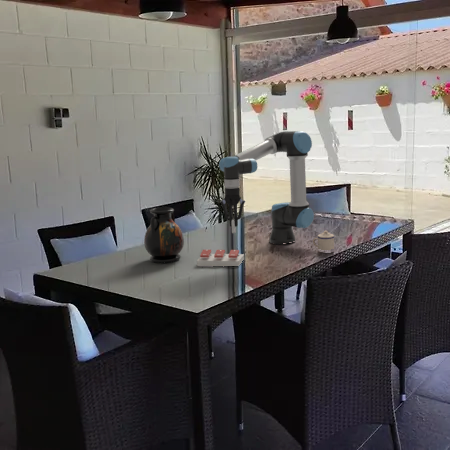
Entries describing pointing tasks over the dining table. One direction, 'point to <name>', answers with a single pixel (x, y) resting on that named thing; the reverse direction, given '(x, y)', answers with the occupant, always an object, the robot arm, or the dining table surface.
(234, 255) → the rocker
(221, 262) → the power strip
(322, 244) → the teacup with lid
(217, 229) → the dining table surface
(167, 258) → the amphora vase
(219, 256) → the rocker
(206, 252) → the rocker
